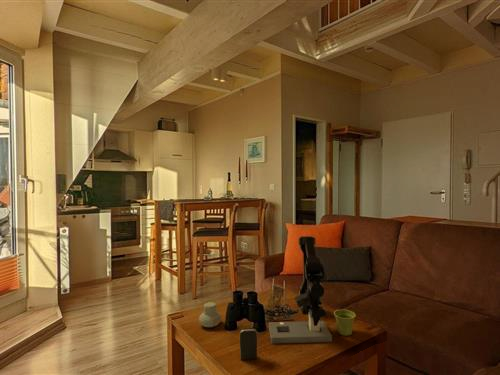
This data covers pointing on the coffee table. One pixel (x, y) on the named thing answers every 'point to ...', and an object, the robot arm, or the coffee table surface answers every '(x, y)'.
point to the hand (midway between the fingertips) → (314, 323)
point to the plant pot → (344, 321)
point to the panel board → (297, 332)
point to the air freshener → (210, 315)
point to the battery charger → (248, 343)
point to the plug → (311, 324)
